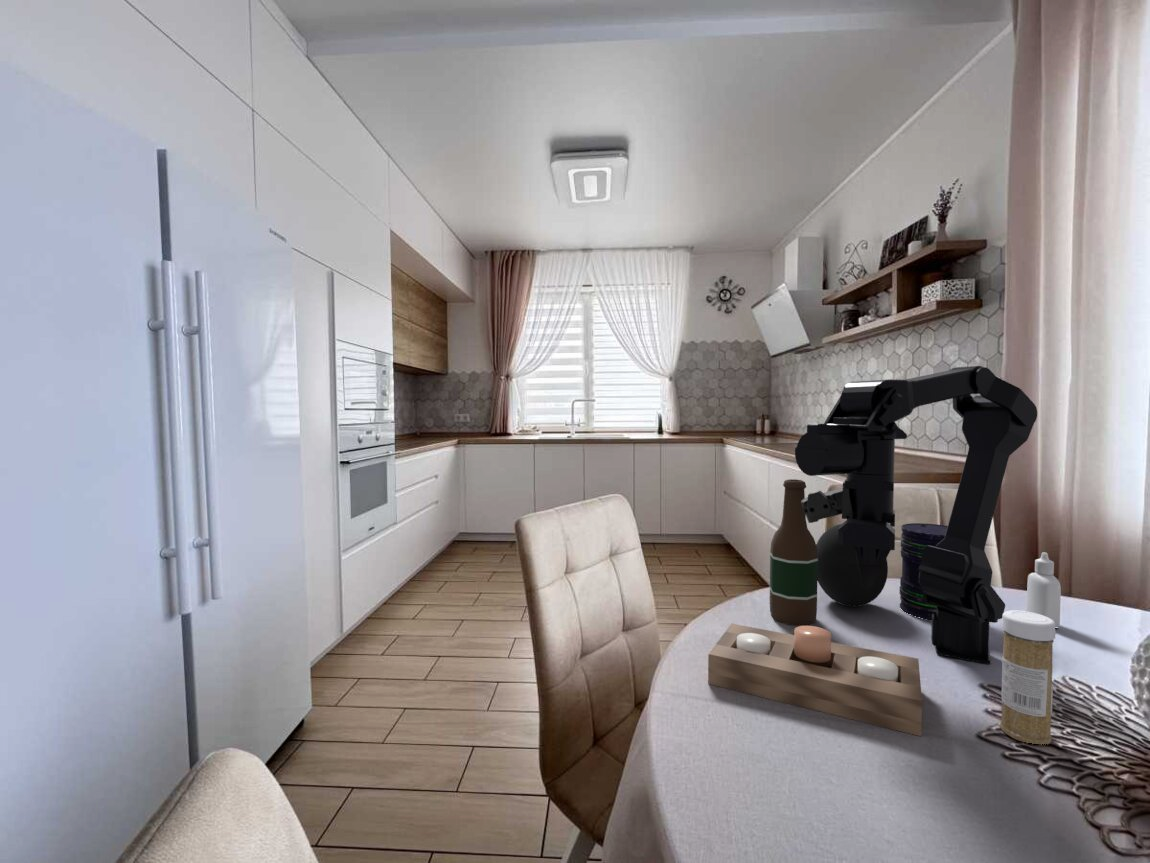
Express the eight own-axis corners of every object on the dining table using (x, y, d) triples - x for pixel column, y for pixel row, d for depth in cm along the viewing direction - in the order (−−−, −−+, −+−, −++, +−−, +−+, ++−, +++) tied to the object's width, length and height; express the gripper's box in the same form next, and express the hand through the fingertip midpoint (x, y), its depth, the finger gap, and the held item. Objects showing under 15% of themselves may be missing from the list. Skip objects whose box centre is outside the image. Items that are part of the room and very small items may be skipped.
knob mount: (917, 688, 72) (918, 658, 72) (921, 736, 62) (922, 701, 62) (731, 649, 84) (731, 623, 84) (708, 683, 74) (708, 654, 74)
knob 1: (772, 658, 78) (773, 637, 77) (766, 671, 74) (766, 648, 74) (740, 651, 80) (741, 630, 80) (733, 663, 76) (733, 642, 76)
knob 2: (897, 684, 70) (897, 661, 70) (897, 700, 66) (898, 675, 66) (858, 676, 72) (858, 653, 72) (856, 691, 68) (856, 667, 68)
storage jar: (978, 622, 94) (981, 535, 94) (920, 622, 95) (922, 535, 94) (940, 602, 104) (942, 523, 104) (888, 602, 104) (889, 523, 104)
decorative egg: (875, 622, 95) (877, 535, 94) (802, 605, 103) (803, 524, 102) (894, 603, 104) (896, 523, 103) (825, 589, 112) (827, 515, 111)
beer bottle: (812, 630, 92) (815, 484, 90) (764, 620, 96) (765, 481, 95) (820, 615, 98) (822, 479, 97) (774, 606, 102) (776, 476, 101)
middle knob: (832, 651, 74) (832, 629, 74) (828, 665, 70) (829, 641, 70) (796, 645, 76) (797, 623, 76) (791, 657, 72) (792, 634, 72)
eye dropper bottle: (1059, 621, 95) (1062, 551, 94) (1059, 631, 91) (1062, 558, 90) (1026, 615, 98) (1028, 547, 97) (1025, 624, 93) (1027, 554, 93)
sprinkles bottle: (1058, 738, 62) (1062, 618, 61) (1042, 752, 59) (1046, 627, 58) (1008, 719, 65) (1011, 605, 65) (991, 731, 63) (995, 613, 62)
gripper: (814, 463, 88) (812, 561, 89) (796, 476, 72) (794, 596, 72) (895, 467, 82) (893, 571, 83) (896, 482, 66) (893, 611, 67)
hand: (867, 586), depth 77 cm, fingers closed
